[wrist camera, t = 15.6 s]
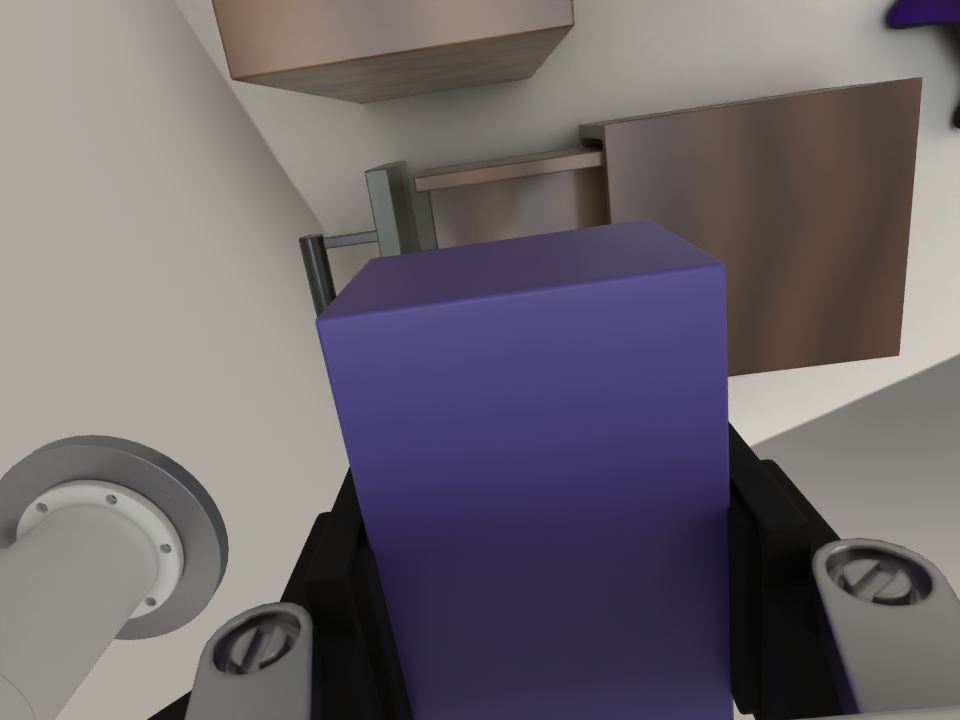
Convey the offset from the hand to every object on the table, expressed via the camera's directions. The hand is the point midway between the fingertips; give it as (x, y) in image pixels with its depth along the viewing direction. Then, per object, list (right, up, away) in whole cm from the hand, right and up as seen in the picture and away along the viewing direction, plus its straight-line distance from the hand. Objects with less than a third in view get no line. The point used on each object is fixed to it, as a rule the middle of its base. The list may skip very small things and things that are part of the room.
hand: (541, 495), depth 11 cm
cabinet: (+14, +12, +32) cm, 37 cm away
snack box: (0, 0, 0) cm, 0 cm away
